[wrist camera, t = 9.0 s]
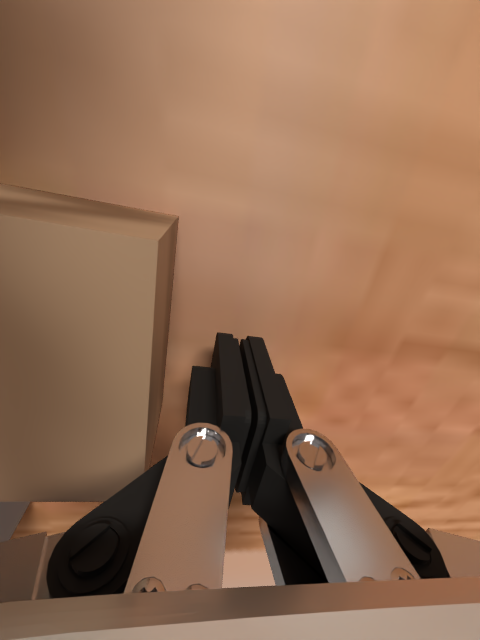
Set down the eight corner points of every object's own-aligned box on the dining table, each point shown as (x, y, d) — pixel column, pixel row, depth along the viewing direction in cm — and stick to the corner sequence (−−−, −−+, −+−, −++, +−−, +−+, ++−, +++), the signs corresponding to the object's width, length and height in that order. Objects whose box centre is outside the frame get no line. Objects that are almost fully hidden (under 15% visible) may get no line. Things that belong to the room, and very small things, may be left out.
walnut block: (179, 215, 9) (158, 240, 5) (162, 399, 12) (142, 502, 8) (-29, 177, 8) (-259, 171, 4) (14, 390, 11) (-89, 501, 7)
